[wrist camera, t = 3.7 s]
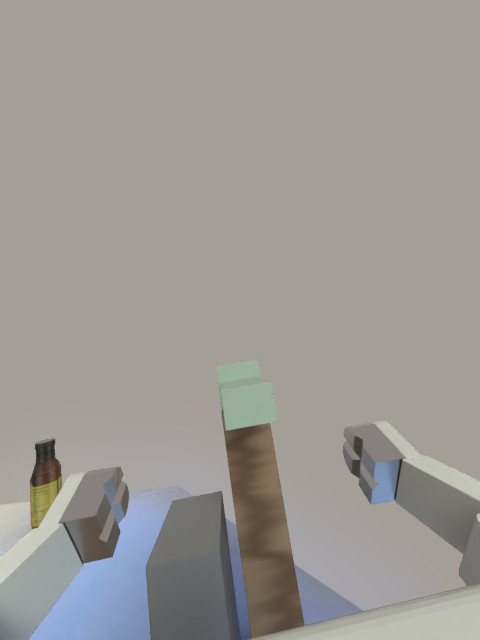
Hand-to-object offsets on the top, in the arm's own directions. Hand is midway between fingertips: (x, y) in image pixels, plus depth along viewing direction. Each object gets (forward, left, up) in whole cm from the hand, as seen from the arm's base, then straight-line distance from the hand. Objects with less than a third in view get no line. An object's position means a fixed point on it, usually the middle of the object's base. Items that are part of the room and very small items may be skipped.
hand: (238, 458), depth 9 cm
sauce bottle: (+49, -61, -27) cm, 83 cm away
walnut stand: (-1, -22, -27) cm, 35 cm away
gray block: (+6, -19, -27) cm, 34 cm away
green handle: (-1, -18, -1) cm, 18 cm away
